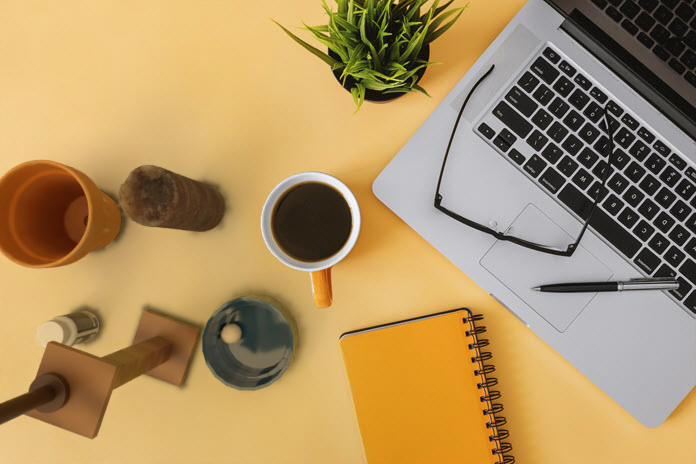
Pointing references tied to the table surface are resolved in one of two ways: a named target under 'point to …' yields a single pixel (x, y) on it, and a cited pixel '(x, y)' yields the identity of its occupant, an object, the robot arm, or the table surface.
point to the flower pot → (53, 215)
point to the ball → (231, 333)
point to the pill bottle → (68, 329)
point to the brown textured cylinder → (170, 200)
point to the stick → (38, 397)
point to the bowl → (251, 342)
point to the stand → (116, 370)
